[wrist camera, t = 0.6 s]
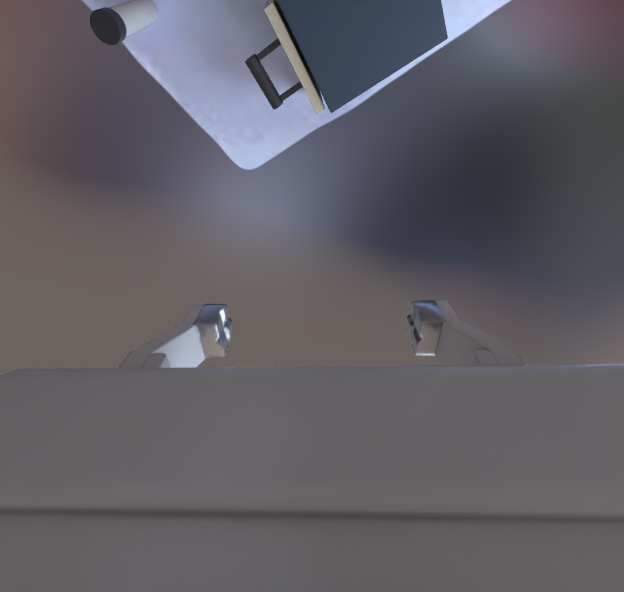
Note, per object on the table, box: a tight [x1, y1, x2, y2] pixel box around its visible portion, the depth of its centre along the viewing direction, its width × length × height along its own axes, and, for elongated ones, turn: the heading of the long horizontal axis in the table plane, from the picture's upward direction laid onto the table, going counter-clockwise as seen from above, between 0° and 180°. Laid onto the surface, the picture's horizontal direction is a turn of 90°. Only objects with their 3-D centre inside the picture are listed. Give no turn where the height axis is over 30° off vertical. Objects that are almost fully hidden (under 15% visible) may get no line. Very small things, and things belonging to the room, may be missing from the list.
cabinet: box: [277, 0, 448, 113], centre depth 36 cm, size 15×13×10 cm
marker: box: [90, 0, 158, 45], centre depth 34 cm, size 3×3×14 cm
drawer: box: [245, 0, 325, 113], centre depth 38 cm, size 19×12×8 cm, turn 119°
